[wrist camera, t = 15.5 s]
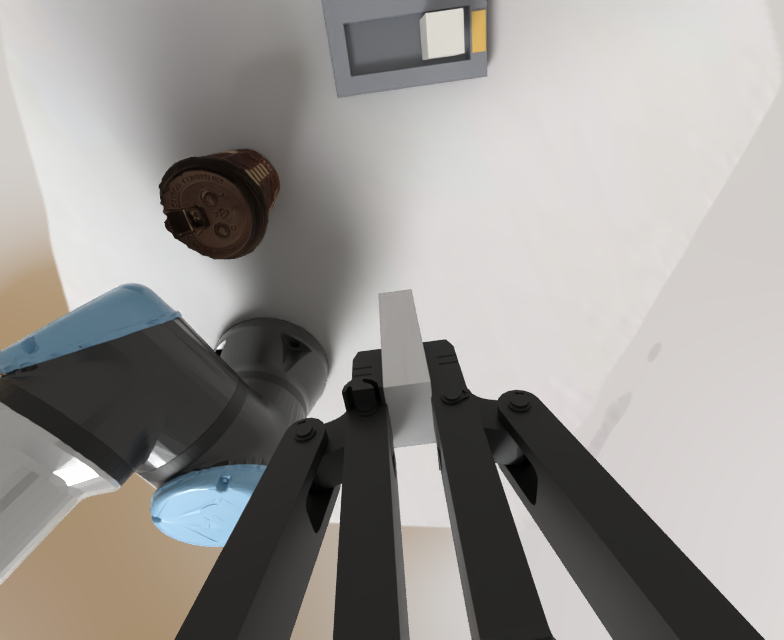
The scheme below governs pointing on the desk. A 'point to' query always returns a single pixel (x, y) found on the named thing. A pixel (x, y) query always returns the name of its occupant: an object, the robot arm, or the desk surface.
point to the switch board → (398, 44)
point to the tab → (442, 34)
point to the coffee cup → (220, 202)
